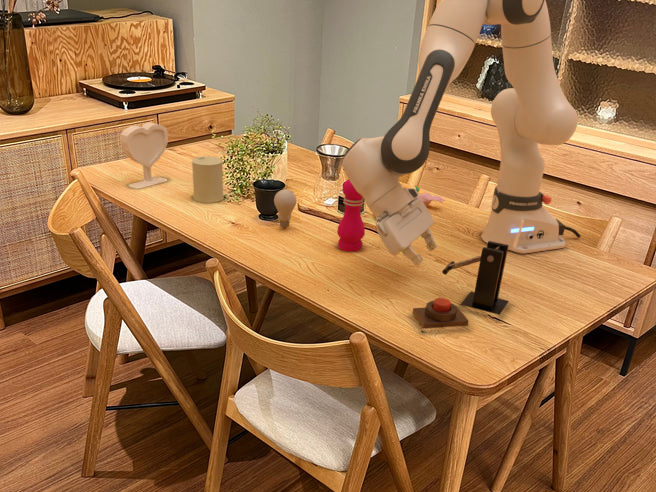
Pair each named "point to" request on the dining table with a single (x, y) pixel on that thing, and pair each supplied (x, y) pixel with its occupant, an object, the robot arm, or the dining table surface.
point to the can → (207, 179)
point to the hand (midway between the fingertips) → (427, 255)
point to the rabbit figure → (428, 197)
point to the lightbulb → (285, 206)
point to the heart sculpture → (145, 149)
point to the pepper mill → (351, 220)
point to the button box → (439, 317)
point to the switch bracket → (489, 280)
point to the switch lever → (463, 262)
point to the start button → (442, 305)
